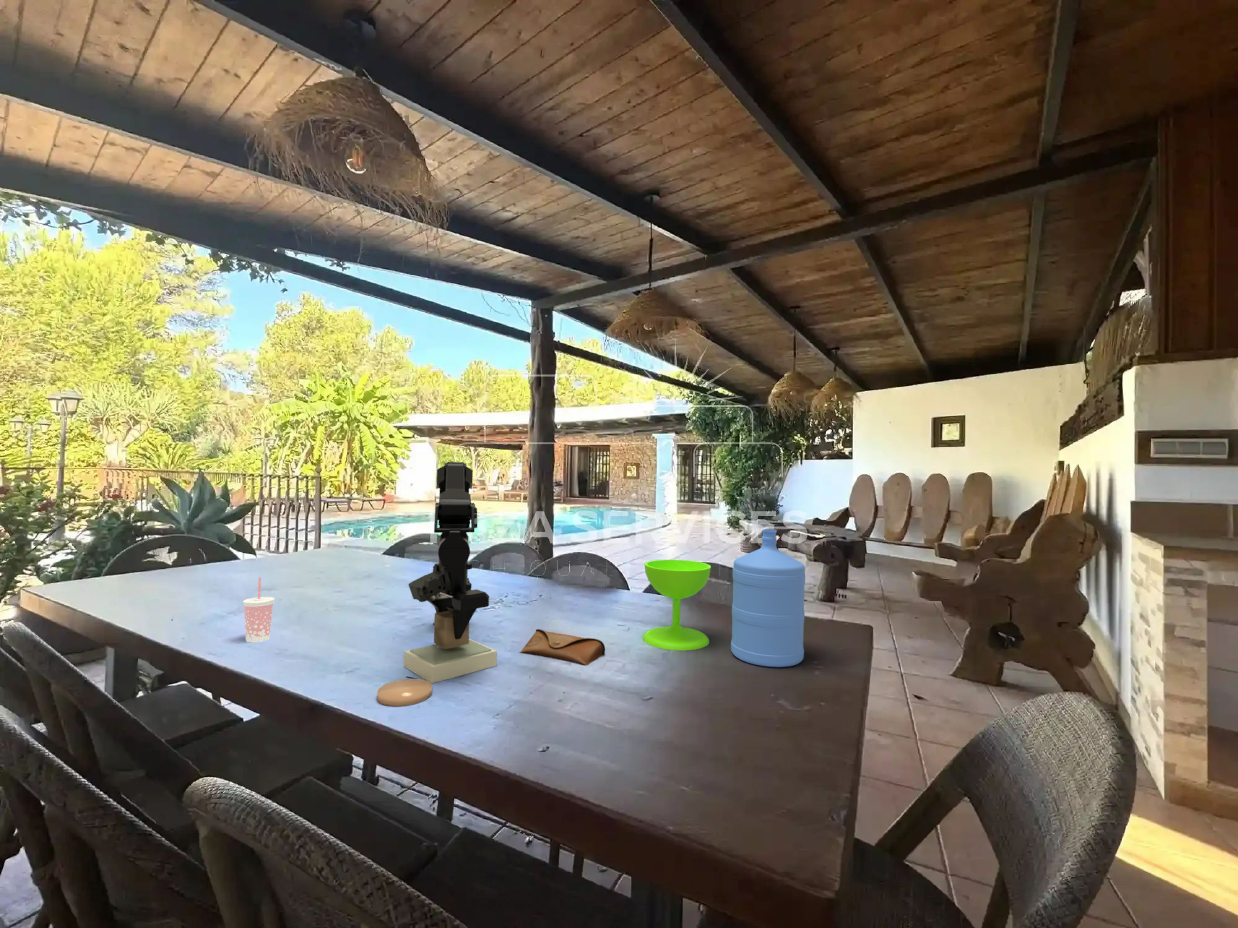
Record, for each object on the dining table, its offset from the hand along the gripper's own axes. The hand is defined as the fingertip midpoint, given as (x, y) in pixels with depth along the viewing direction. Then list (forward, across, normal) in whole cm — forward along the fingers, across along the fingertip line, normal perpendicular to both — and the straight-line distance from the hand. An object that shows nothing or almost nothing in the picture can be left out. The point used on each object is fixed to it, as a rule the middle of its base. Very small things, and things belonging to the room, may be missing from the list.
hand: (451, 635), depth 112 cm
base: (+6, 0, 0) cm, 6 cm away
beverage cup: (+6, -44, -24) cm, 50 cm away
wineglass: (+6, +19, +49) cm, 53 cm away
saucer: (+6, +8, -13) cm, 16 cm away
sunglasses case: (+7, +9, +22) cm, 24 cm away
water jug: (+6, +40, +55) cm, 68 cm away
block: (+2, 0, 0) cm, 2 cm away
